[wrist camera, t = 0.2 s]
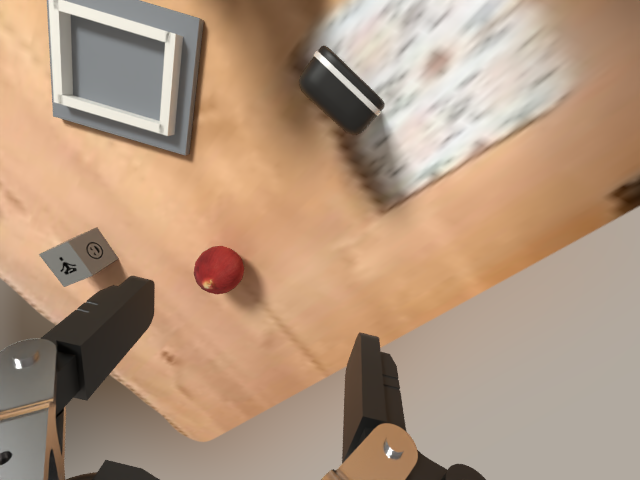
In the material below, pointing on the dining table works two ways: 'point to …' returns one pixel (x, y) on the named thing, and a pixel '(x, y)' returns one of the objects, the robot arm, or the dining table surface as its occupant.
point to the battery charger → (340, 92)
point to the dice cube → (79, 257)
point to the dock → (125, 69)
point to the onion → (218, 270)
